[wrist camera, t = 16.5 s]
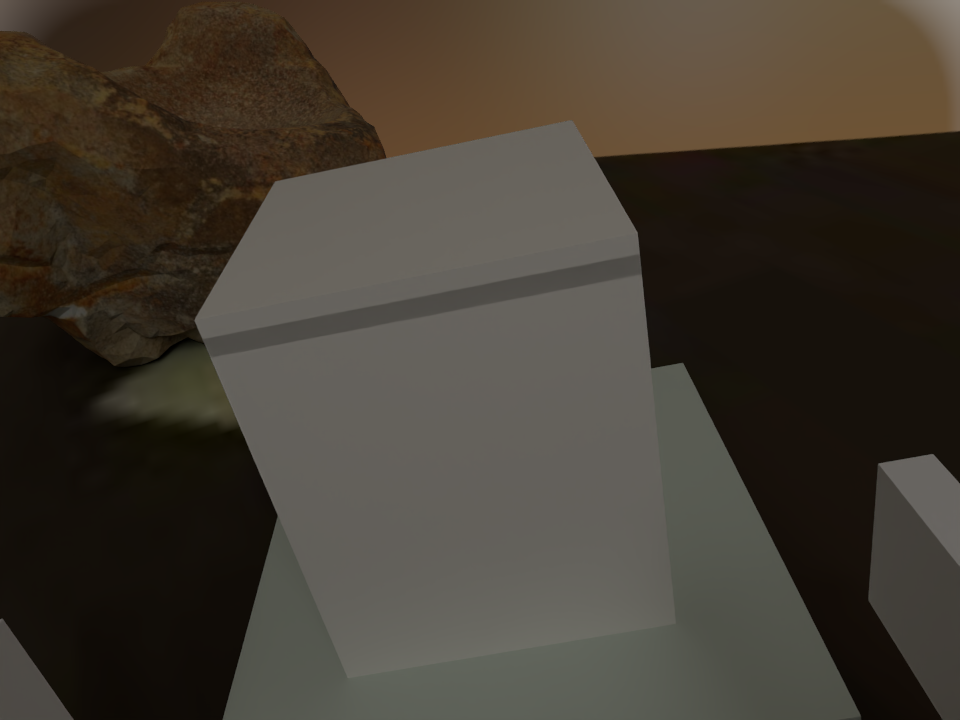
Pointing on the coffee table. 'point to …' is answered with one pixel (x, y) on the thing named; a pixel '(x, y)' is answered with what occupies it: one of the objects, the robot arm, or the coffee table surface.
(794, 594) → the mat
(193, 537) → the coffee table surface
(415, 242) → the white box
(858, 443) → the coffee table surface
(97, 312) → the rough brown rock
